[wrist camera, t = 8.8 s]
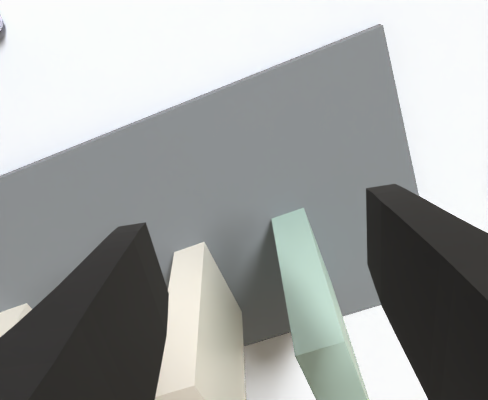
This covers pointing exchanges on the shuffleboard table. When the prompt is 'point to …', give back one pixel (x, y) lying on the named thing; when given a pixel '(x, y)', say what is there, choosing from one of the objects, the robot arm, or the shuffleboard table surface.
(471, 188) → the shuffleboard table surface
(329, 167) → the slate mat
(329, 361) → the domino
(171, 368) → the domino
